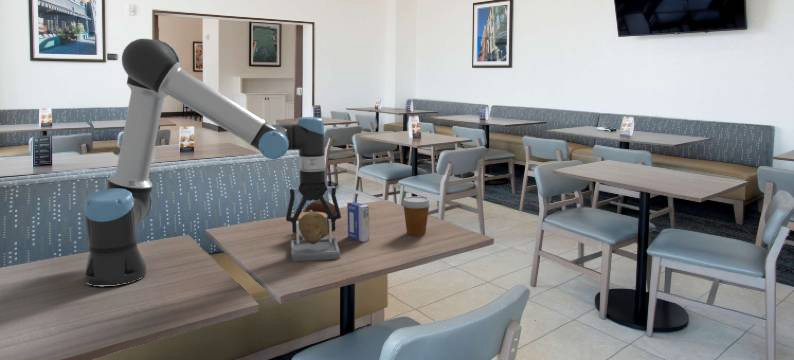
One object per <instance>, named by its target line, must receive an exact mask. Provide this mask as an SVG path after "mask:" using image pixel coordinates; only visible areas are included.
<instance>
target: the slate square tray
mask: <svg viewBox="0 0 794 360" xmlns="http://www.w3.org/2000/svg"><path fill="white" fill-rule="evenodd" d="M290 245H291V247H290V248H291V249H290V251H291V262H303V261H306V262H307V261H320V260H322V261H323V260H335V259H341V253H340V248H339V245H338V241H337V239H336V237H332V242H329V237H327V238H325V237H323V238H321V239H320V240H319V241H318V242H317V243H316V244H310V243H308V242H307V241H306V240H303V239H299V244H297V239H292V240H290Z"/></svg>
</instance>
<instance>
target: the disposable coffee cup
mask: <svg viewBox="0 0 794 360" xmlns="http://www.w3.org/2000/svg"><path fill="white" fill-rule="evenodd" d="M401 204H402V206H403V212H404V220H405V228H406V234H407V235H408V236H412V237H419V236H424V235H426V230H427V223H428V216H429V210H430V209H429V208H430V205H431V202H430V199H429V198H428V197H426V196H419V195H417V196H416V195H414V196H407V197H404V198H403V201H402V202H401Z"/></svg>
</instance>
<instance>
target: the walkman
mask: <svg viewBox="0 0 794 360" xmlns="http://www.w3.org/2000/svg"><path fill="white" fill-rule="evenodd" d="M346 205H347V206H346V207H347V238H350V239H353V240H356V241H359V242H361V243H362V242H363V243H364V242H367V241H368V242H369V241H370V213H369V210H370V208H369V205H367V204H363V203H360V202H356V201H350V202H347V204H346Z"/></svg>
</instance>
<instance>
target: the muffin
mask: <svg viewBox="0 0 794 360" xmlns="http://www.w3.org/2000/svg"><path fill="white" fill-rule="evenodd" d="M325 201H326V202H327V204H328V206H329V208H330V210H331V211H332V213H333V215H336V212H335V208H334V204H332V203H331V202H329V201H328V200H325ZM309 210H312V212H323V213H326V214H327V222H328V219H331V218H330V217H329V215H328V213H327V211H326V210H325V208H324V206H323V204H322V203H321V201H320V199H319V200H313V201H311V202H310V203H309V204H308V205H306V207H305V209H304V211H303V212H309Z"/></svg>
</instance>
